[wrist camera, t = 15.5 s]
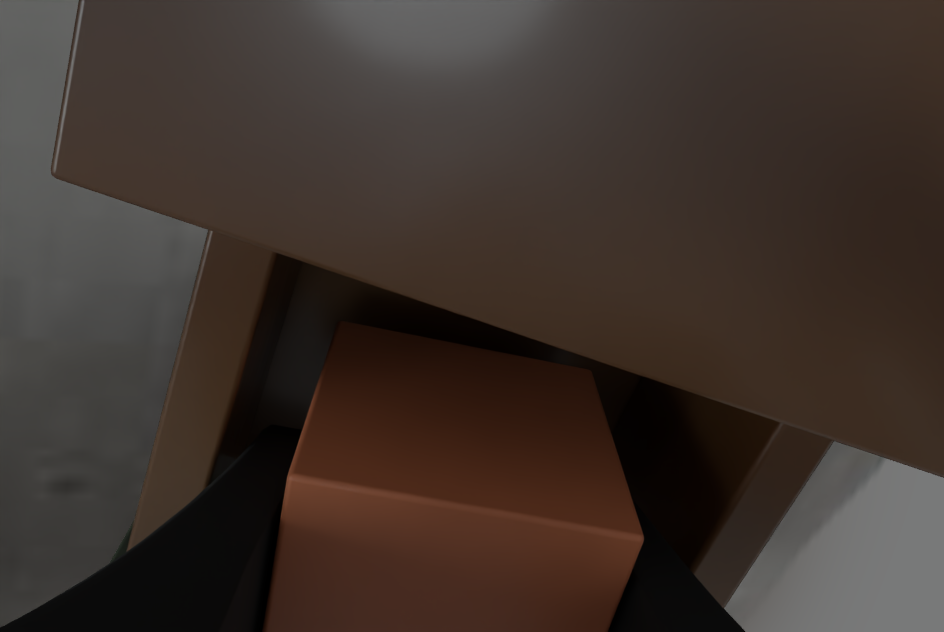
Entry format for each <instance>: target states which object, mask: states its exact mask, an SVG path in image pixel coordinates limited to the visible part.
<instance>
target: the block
mask: <svg viewBox="0 0 944 632" xmlns="http://www.w3.org/2000/svg"><path fill="white" fill-rule="evenodd" d="M643 541H644V535H643V532H642V529H641V526H640V523H639V520H638V516H637V513H636V510H635V507H634V504H633V501H632V498H631V494H630V491H629V488H628V485H627V482H626V479H625V475H624V472H623V469H622V466H621V463H620V460H619V456H618V453H617V450H616V447H615V444H614V441H613V437H612V434H611V431H610V428H609V425H608V422H607V419H606V415H605V412H604V409H603V406H602V403H601V400H600V396H599V393H598V390H597V387H596V384H595V381H594V377H593V374H592V372H591V371H590V370H588V369H583V368H578V367H573V366H568V365H563V364H558V363H553V362H548V361H543V360H538V359H532V358H527V357H522V356H517V355H512V354H507V353H502V352H497V351H492V350H487V349H482V348H477V347H472V346H467V345H462V344H457V343H451V342H446V341H441V340H436V339H431V338H426V337H421V336H416V335H411V334H406V333H401V332H396V331H391V330H386V329H381V328H376V327H370V326H365V325H360V324H355V323H350V322H345V321H339V322H338V323H337V325H336V328H335V331H334V334H333V337H332V340H331V343H330V346H329V349H328V352H327V356H326V359H325V362H324V365H323V368H322V371H321V374H320V377H319V380H318V383H317V386H316V389H315V392H314V396H313V399H312V402H311V405H310V408H309V411H308V414H307V417H306V420H305V423H304V426H303V429H302V432H301V436H300V439H299V442H298V445H297V448H296V451H295V454H294V457H293V460H292V463H291V466H290V469H289V472H288V476H287V480H286V487H285V493H284V499H283V505H282V511H281V517H280V524H279V530H278V536H277V542H276V548H275V554H274V561H273V567H272V573H271V579H270V585H269V591H268V598H267V604H266V610H265V616H264V622H263V628H262V632H608V630H609V627H610V625H611V622H612V620H613V617H614V615H615V612H616V610H617V607H618V605H619V602H620V600H621V597H622V595H623V592H624V589H625V587H626V584H627V582H628V579H629V577H630V574H631V572H632V569H633V567H634V564H635V562H636V559H637V557H638V554H639V551H640V549H641V546H642V544H643Z"/></svg>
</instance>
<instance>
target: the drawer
mask: <svg viewBox="0 0 944 632" xmlns="http://www.w3.org/2000/svg"><path fill="white" fill-rule="evenodd" d="M339 321H345V322H350V323H355V324H360V325H365V326H370V327H376V328H381V329H386V330H391V331H396V332H401V333H406V334H411V335H416V336H421V337H426V338H431V339H436V340H441V341H446V342H451V343H457V344H462V345H467V346H472V347H477V348H482V349H487V350H492V351H497V352H502V353H507V354H512V355H517V356H522V357H527V358H532V359H538V360H543V361H548V362H553V363H558V364H563V365H568V366H573V367H578V368H583V369H588V370H590V371H591V372H592V374H593V377H594V381H595V384H596V387H597V390H598V393H599V396H600V400H601V403H602V406H603V409H604V412H605V415H606V419H607V422H608V425H609V428H610V431H611V434H612V437H613V441H614V444H615V447H616V450H617V453H618V456H619V460H620V463H621V466H622V469H623V472H624V475H625V479H626V482H627V485H628V488H629V491H630V494H631V498H632V499H633V500H634V502H635V503H636V504H637V505H638V506H639V508H640V509H641V510H642V511H643V513H644V514H645V515H646V516H647V517H648V519H649V520H650V521H651V522H652V524H653V525H654V526H655V527H656V529H657V530H658V531H659V532H660V534H661V535H662V536H663V537H664V539H665V540H666V541H667V542H668V544H669V545H670V546H671V547H672V549H673V550H674V551H675V552H676V553H677V555H678V556H679V557H680V558H681V560H682V561H683V562H684V563H685V564H686V566H687V567H688V568H689V569H690V570H691V572H692V573H693V574H694V575H695V576H696V577H697V579H698V580H699V581H700V582H701V583H702V584H703V586H704V587H705V588H706V589H707V590H708V591H709V593H710V594H711V595H712V596H713V597H714V598H715V599H716V600H717V602H718V603H719V604H720V605H721V606H722V607H723V608H724V607H725V606H726V604H727V603H728V601H729V600H730V598H731V597H732V595H733V594H734V592H735V591H736V589H737V588H738V586H739V584H740V583H741V581H742V580H743V578H744V577H745V575H746V574H747V572H748V571H749V569H750V568H751V566H752V565H753V563H754V562H755V560H756V559H757V557H758V556H759V554H760V553H761V551H762V550H763V548H764V547H765V545H766V543H767V542H768V540H769V539H770V537H771V536H772V534H773V533H774V531H775V530H776V528H777V527H778V525H779V524H780V522H781V521H782V519H783V518H784V516H785V515H786V513H787V512H788V510H789V509H790V507H791V505H792V504H793V502H794V501H795V499H796V498H797V496H798V495H799V493H800V492H801V490H802V489H803V487H804V486H805V484H806V483H807V481H808V480H809V478H810V477H811V475H812V474H813V472H814V471H815V469H816V468H817V466H818V464H819V463H820V461H821V460H822V458H823V457H824V455H825V454H826V452H827V451H828V449H829V448H830V446H831V445H832V443H833V442H834V441H833V440H831V439H828V438H825V437H822V436H819V435H816V434H813V433H810V432H807V431H804V430H801V429H798V428H795V427H792V426H789V425H786V424H783V423H780V422H777V421H774V420H771V419H768V418H765V417H762V416H759V415H756V414H753V413H750V412H748V411H745V410H742V409H739V408H736V407H733V406H730V405H727V404H724V403H721V402H718V401H715V400H712V399H709V398H706V397H703V396H700V395H697V394H694V393H691V392H688V391H685V390H682V389H679V388H676V387H673V386H670V385H667V384H664V383H662V382H659V381H656V380H653V379H650V378H647V377H644V376H641V375H638V374H635V373H632V372H629V371H626V370H623V369H620V368H617V367H614V366H611V365H608V364H605V363H602V362H599V361H596V360H593V359H590V358H587V357H584V356H581V355H578V354H576V353H573V352H570V351H567V350H564V349H561V348H558V347H555V346H552V345H549V344H546V343H543V342H540V341H537V340H534V339H531V338H528V337H525V336H522V335H519V334H516V333H513V332H510V331H507V330H504V329H501V328H498V327H495V326H492V325H490V324H487V323H484V322H481V321H478V320H475V319H472V318H469V317H466V316H463V315H460V314H457V313H454V312H451V311H448V310H445V309H442V308H439V307H436V306H433V305H430V304H427V303H424V302H421V301H418V300H415V299H412V298H409V297H407V296H404V295H401V294H398V293H395V292H392V291H389V290H386V289H383V288H380V287H377V286H374V285H371V284H368V283H365V282H362V281H359V280H356V279H353V278H350V277H347V276H344V275H341V274H338V273H335V272H332V271H329V270H326V269H323V268H321V267H318V266H315V265H312V264H309V263H306V262H303V261H300V260H297V259H294V258H291V257H288V256H285V255H282V254H279V253H276V252H273V251H270V250H267V249H264V248H261V247H258V246H255V245H252V244H249V243H246V242H243V241H240V240H237V239H235V238H232V237H229V236H226V235H223V234H220V233H217V232H214V231H211V230H208V233H207V237H206V241H205V245H204V249H203V253H202V257H201V260H200V264H199V268H198V272H197V276H196V280H195V284H194V288H193V292H192V296H191V300H190V304H189V307H188V311H187V315H186V319H185V323H184V327H183V331H182V335H181V339H180V343H179V347H178V351H177V354H176V358H175V362H174V366H173V370H172V374H171V378H170V382H169V386H168V390H167V394H166V398H165V402H164V405H163V409H162V413H161V417H160V421H159V425H158V429H157V433H156V437H155V441H154V445H153V449H152V452H151V456H150V460H149V464H148V468H147V472H146V476H145V480H144V484H143V488H142V492H141V496H140V499H139V503H138V507H137V511H136V515H135V519H134V521H133V523H132V525H131V526H130V528H129V530H128V532H127V533H126V535H125V537H124V539H123V540H122V542H121V544H120V546H119V547H118V549H117V551H116V553H115V554H114V556H113V558H112V560H111V561H110V563H111V562H113V561H114V560H116V559H117V558H118V557H120V556H121V555H123V554H124V553H126V552H127V551H128V550H130V549H131V548H133V547H134V546H135V545H137V544H138V543H139V542H141V541H142V540H143V539H145V538H146V537H147V536H149V535H150V534H151V533H152V532H154V531H155V530H156V529H157V528H159V527H160V526H161V525H162V524H164V523H165V522H166V521H168V520H169V519H170V518H171V517H173V516H174V515H175V514H176V513H178V512H179V511H180V510H181V509H183V508H184V507H185V506H186V505H187V504H188V503H190V502H191V501H192V500H193V499H194V498H195V497H196V496H198V495H199V494H200V493H201V492H202V491H203V490H204V489H205V488H206V487H207V486H208V485H210V484H211V483H212V482H213V481H214V480H215V479H216V478H217V477H218V476H219V475H221V474H222V473H223V472H224V471H225V470H226V469H227V468H228V467H229V466H230V465H231V464H232V463H233V462H234V461H235V460H236V459H237V458H238V457H239V456H240V455H241V454H242V453H243V452H244V451H245V449H246V448H247V447H248V446H249V445H250V444H251V443H252V442H253V441H254V440H255V438H256V437H257V436H258V435H259V434H260V432H261V431H262V430H263V429H265V428H266V427H268V426H270V425H272V424H273V425H278V426H284V427H289V428H295V429H300V430H302V429H303V426H304V423H305V420H306V417H307V414H308V411H309V408H310V405H311V402H312V399H313V396H314V392H315V389H316V386H317V383H318V380H319V377H320V374H321V371H322V368H323V365H324V362H325V359H326V356H327V352H328V349H329V346H330V343H331V340H332V337H333V334H334V331H335V328H336V325H337V323H338V322H339ZM110 563H109V564H110Z"/></svg>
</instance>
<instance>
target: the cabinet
mask: <svg viewBox="0 0 944 632" xmlns="http://www.w3.org/2000/svg"><path fill="white" fill-rule="evenodd" d="M51 174H52V176H54V177H55V178H57V179H60V180H63V181H66V182H68V183H71V184H74V185H77V186H80V187H83V188H86V189H89V190H92V191H95V192H98V193H101V194H104V195H107V196H110V197H113V198H116V199H119V200H122V201H125V202H128V203H131V204H134V205H137V206H140V207H143V208H146V209H149V210H151V211H154V212H157V213H160V214H163V215H166V216H169V217H172V218H175V219H178V220H181V221H184V222H187V223H190V224H193V225H196V226H199V227H202V228H205V229H208V230H211V231H214V232H217V233H220V234H223V235H226V236H229V237H232V238H235V239H237V240H240V241H243V242H246V243H249V244H252V245H255V246H258V247H261V248H264V249H267V250H270V251H273V252H276V253H279V254H282V255H285V256H288V257H291V258H294V259H297V260H300V261H303V262H306V263H309V264H312V265H315V266H318V267H321V268H323V269H326V270H329V271H332V272H335V273H338V274H341V275H344V276H347V277H350V278H353V279H356V280H359V281H362V282H365V283H368V284H371V285H374V286H377V287H380V288H383V289H386V290H389V291H392V292H395V293H398V294H401V295H404V296H407V297H409V298H412V299H415V300H418V301H421V302H424V303H427V304H430V305H433V306H436V307H439V308H442V309H445V310H448V311H451V312H454V313H457V314H460V315H463V316H466V317H469V318H472V319H475V320H478V321H481V322H484V323H487V324H490V325H492V326H495V327H498V328H501V329H504V330H507V331H510V332H513V333H516V334H519V335H522V336H525V337H528V338H531V339H534V340H537V341H540V342H543V343H546V344H549V345H552V346H555V347H558V348H561V349H564V350H567V351H570V352H573V353H576V354H578V355H581V356H584V357H587V358H590V359H593V360H596V361H599V362H602V363H605V364H608V365H611V366H614V367H617V368H620V369H623V370H626V371H629V372H632V373H635V374H638V375H641V376H644V377H647V378H650V379H653V380H656V381H659V382H662V383H664V384H667V385H670V386H673V387H676V388H679V389H682V390H685V391H688V392H691V393H694V394H697V395H700V396H703V397H706V398H709V399H712V400H715V401H718V402H721V403H724V404H727V405H730V406H733V407H736V408H739V409H742V410H745V411H748V412H750V413H753V414H756V415H759V416H762V417H765V418H768V419H771V420H774V421H777V422H780V423H783V424H786V425H789V426H792V427H795V428H798V429H801V430H804V431H807V432H810V433H813V434H816V435H819V436H822V437H825V438H828V439H831V440H833V441H836V442H839V443H842V444H845V445H848V446H851V447H854V448H857V449H860V450H863V451H866V452H869V453H872V454H875V455H878V456H881V457H884V458H887V459H890V460H893V461H896V462H899V463H902V464H905V465H908V466H911V467H914V468H917V469H919V470H922V471H925V472H928V473H932V474H935V475H937V476H940V477H943V478H944V0H79V3H78V9H77V15H76V21H75V27H74V33H73V39H72V45H71V51H70V57H69V63H68V69H67V75H66V81H65V87H64V93H63V99H62V105H61V111H60V117H59V123H58V129H57V135H56V141H55V147H54V153H53V159H52V165H51Z"/></svg>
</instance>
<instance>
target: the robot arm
mask: <svg viewBox="0 0 944 632" xmlns="http://www.w3.org/2000/svg"><path fill="white" fill-rule="evenodd" d="M301 432H302V430H300V429H295V428H289V427H284V426H278V425H273V424H272V425H270V426H268V427H266V428H265V429H263V430H262V431H261V432H260V434H259V435H258V436H257V437H256V438H255V440H254V441H253V442H252V443H251V444H250V445H249V446H248V447H247V448H246V449H245V451H244V452H243V453H242V454H241V455H240V456H239V457H238V458H237V459H236V460H235V461H234V462H233V463H232V464H231V465H230V466H229V467H228V468H227V469H226V470H225V471H224V472H223V473H222V474H221V475H219V476H218V477H217V478H216V479H215V480H214V481H213V482H212V483H211V484H210V485H208V486H207V487H206V488H205V489H204V490H203V491H202V492H201V493H200V494H199V495H198V496H196V497H195V498H194V499H193V500H192V501H191V502H190V503H188V504H187V505H186V506H185V507H184V508H183V509H181V510H180V511H179V512H178V513H176V514H175V515H174V516H173V517H171V518H170V519H169V520H168V521H166V522H165V523H164V524H162V525H161V526H160V527H159V528H157V529H156V530H155V531H154V532H152V533H151V534H150V535H149V536H147V537H146V538H145V539H143V540H142V541H141V542H139V543H138V544H137V545H135V546H134V547H133V548H131V549H130V550H128V551H127V552H126V553H124V554H123V555H121V556H120V557H118V558H117V559H116V560H114V561H113V562H111V563H110V564H108V565H107V566H105V567H104V568H102V569H100V570H99V571H97V572H96V573H94V574H93V575H91V576H90V577H88V578H87V579H85V580H84V581H82V582H80V583H79V584H77V585H75V586H74V587H72V588H70V589H68V590H67V591H65V592H63V593H62V594H60V595H58V596H57V597H55V598H53V599H52V600H50V601H48V602H46V603H45V604H43V605H41V606H40V607H38V608H36V609H34V610H33V611H31V612H29V613H27V614H25V615H23V616H22V617H20V618H18V619H16V620H14V621H12V622H10V623H8V624H7V625H5V626H3V627H1V628H0V632H262V628H263V622H264V616H265V610H266V604H267V598H268V591H269V585H270V579H271V573H272V567H273V561H274V554H275V548H276V542H277V536H278V530H279V524H280V517H281V511H282V505H283V499H284V493H285V487H286V480H287V476H288V472H289V469H290V466H291V463H292V460H293V457H294V454H295V451H296V448H297V445H298V442H299V439H300V436H301ZM632 501H633V504H634V507H635V510H636V513H637V516H638V520H639V523H640V526H641V529H642V532H643V535H644V541H643V544H642V546H641V549H640V551H639V554H638V557H637V559H636V562H635V564H634V567H633V569H632V572H631V574H630V577H629V579H628V582H627V584H626V587H625V589H624V592H623V595H622V597H621V600H620V602H619V605H618V607H617V610H616V612H615V615H614V617H613V620H612V622H611V625H610V627H609V630H608V632H745V631H744V630H743V629H742V627H741V626H740V625H739V624H738V623H737V622H736V621H735V620H734V619H733V618H732V617H731V616H730V615H729V614H728V613H727V612H726V610H725V609H724V608H723V607H722V606H721V605H720V604H719V603H718V602H717V600H716V599H715V598H714V597H713V596H712V595H711V594H710V593H709V591H708V590H707V589H706V588H705V587H704V586H703V584H702V583H701V582H700V581H699V580H698V579H697V577H696V576H695V575H694V574H693V573H692V572H691V570H690V569H689V568H688V567H687V566H686V564H685V563H684V562H683V561H682V560H681V558H680V557H679V556H678V555H677V553H676V552H675V551H674V550H673V549H672V547H671V546H670V545H669V544H668V542H667V541H666V540H665V539H664V537H663V536H662V535H661V534H660V532H659V531H658V530H657V529H656V527H655V526H654V525H653V524H652V522H651V521H650V520H649V519H648V517H647V516H646V515H645V514H644V513H643V511H642V510H641V509H640V508H639V506H638V505H637V504H636V503H635V502H634V500H633V499H632Z"/></svg>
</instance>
